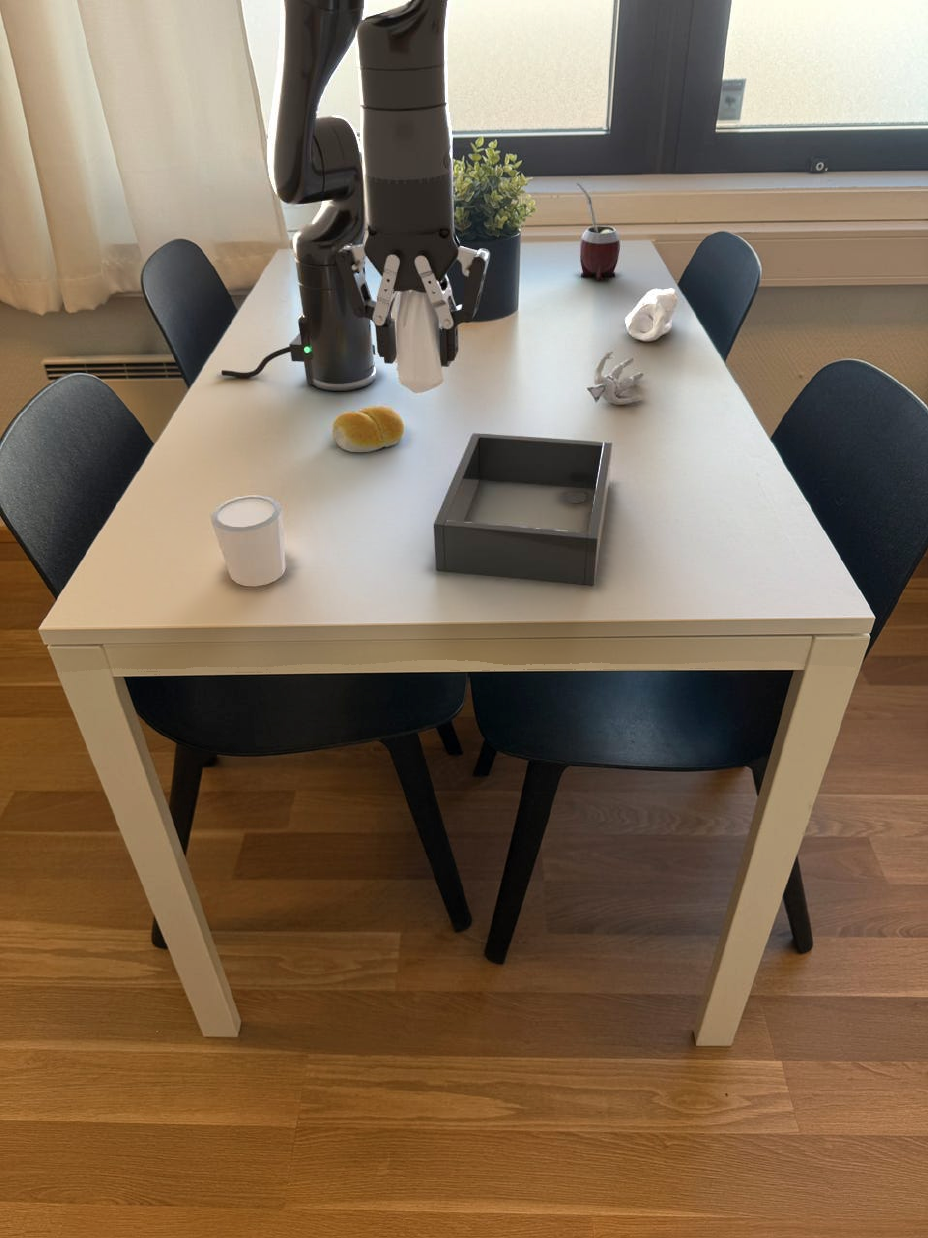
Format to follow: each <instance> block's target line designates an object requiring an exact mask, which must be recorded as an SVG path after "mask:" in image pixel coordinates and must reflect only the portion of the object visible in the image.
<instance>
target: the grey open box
mask: <svg viewBox="0 0 928 1238" xmlns="http://www.w3.org/2000/svg"><path fill="white" fill-rule="evenodd" d="M612 451H613V442H607V441H596V440H595V441H594V440H582V439H568V438H567V439H565V438H552V437H551V438H550V437H537V436H524V435H507V434H495V433H494V434H493V433H478V432H472V433H471V436H470V438H469V440H468V443H467V445H466V447H465V449H464V452H463V454H462V457H461V459H460V462H459V464H458V466H457V468H456V470H455V473H454V475H453V478H452V479H451V483H450V485H449V487H448V489H447V492H446V494H445V496H444V499H443V501H442V503H441V506H440V507H439V511H438V513H437V515H436V518H435V520H434V522H433V540H434V541H433V542H434V558H435V570H436V571H442V572H452V573H463V574H471V575H472V574H473V575H480V576H481V575H482V576H483V575H484V576H492V577H502V578H513V579H522V580H523V579H524V580H534V581H544V582H554V583H555V582H556V583H563V584H564V583H566V584H576V585H584V586H585V585H586V586H594V585H595V580H596V575H597V567H598V561H599V554H600V547H601V542H602V541H601V540H602V534H603V528H604V527H603V526H604V522H605V521H604V520H605V513H606V507H607V500H608V499H607V498H608V493H609V486H610V475H611V465H612V463H611V462H612V453H613V452H612ZM480 480H482V481H494V482H507V483H520V484H533V485H546V486H557V487H569V488H583V489H595V491H594V494H593V495H594V496H593V501H592V507H591V514H590V519H589V526H588V532H586V531H576V530H575V531H574V530H563V529H553V528H551V529H550V528H542V527H541V528H540V527H528V526H517V525H507V524H506V525H505V524H495V523H494V524H493V523H482V522H472V521H471V522H470V521H465V520H466V517H467V514H468V511H469V509H470V507H471V504H472V501H473V498H474V496H475V493H476V491H477V488H478V485H479V482H480ZM564 500H565V501H566V502H567V503H568V504H569V503H570V504H573V505H578V504H582V503H584V502H586V500H587V497H586V495H585V494H584V493H582V492H577V491H572V492H569V493H567V494H565V495H564Z"/></svg>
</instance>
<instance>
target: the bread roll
mask: <svg viewBox="0 0 928 1238" xmlns="http://www.w3.org/2000/svg"><path fill="white" fill-rule="evenodd" d="M404 433H405V425H404V421H403V419H402V417H401V415H400V414H399V413H398V412H397V411H396V410H394V409H392V408H391V407H389V406H385V405H375V406H367V407H363V408H360V409H358V411H345V412H342V413H341V414H339V415H338V416H337V417H336V418H335V420H333V424H332V436H331V438H332V440H333V441H334V442H335V443H336V444H337V446H338V447H339V448H341V449H342V450H345V451H346V452H350V453H369V452H374V451H377V450H379V449H382V448H383V447H386V448H388V447H391V446H394V445H396V444H398V443H399V442H400V441H401V440H402V438H403V436H404Z"/></svg>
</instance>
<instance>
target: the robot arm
mask: <svg viewBox="0 0 928 1238" xmlns="http://www.w3.org/2000/svg"><path fill="white" fill-rule="evenodd" d="M451 2H452V0H408V1H407V2H406V3H404V4H402V5H400V6H397V7H395V8H392V9H388V10H384V11H381V12H376V13H372V14H371V15H369V16H366V15H367V11H368V5H369V0H280V20H279V21H280V22H279V23H280V25H279V26H280V27H279V42H278V55H277V56H278V57H277V68H276V69H277V70H276V76H275V85H274V92H273V98H272V106H271V113H270V119H269V127H268V134H267V135H268V137H267V150H266V155H267V168H268V175H269V179H270V182H271V186H272V188H273V191H274V192H275V194H276V196H277V197H278V198H279V200H281V201H282V203H285V204H286V205H289V206H297V207H299V206H307V205H312V204H317V203H321V205H320V206H321V207H320V208H319V210H318V211H317V213H316V215H314V216H313V218H312V219H311V220H310V221H309V222H308V223H307V224H305V225H303V226H302V227H301V228H300V229H299V230H298V231H296V232H295V234H294V236H293V237H292V247H293V254H294V255H293V256H294V261H295V268H296V276H297V283H298V290H299V297H300V304H301V312H302V314H301V315H300V316H299V317H298V319H297V323H298V330H299V333H298V334H297V335H296V337H295V338H294V339H292V341H291V342H290V343H289V344H288V345H289V346H286V347H284V348H280V349H278V350H276V351H273V352H271V353H270V354H267V355H266V356H265V357H264V358H263V359H262V360H261V361H260V363H259V365H258V366H256V369H254V370H251V371H247V372H240V371H233V370H227V369H222V370H221V376H225V377H234V378H239V379H249V378H253V377H255V376H258V375H259V374H260V373H261V372H263V370H264V369H265V368H266V366H267V364H268V363H269V362H271V361H272V360H274V359H275V358H277V357H279V356H282V355H285V354H288V353H290V359H291V362H300V363H303V366H304V373H305V374H304V375H305V379H306V380H305V381H306V385H309V386H314V387H317V388H318V389H321V390H324V391H334V392H344V391H353V390H356V389H357V390H358V389H360V388H361V389H362V388H364V387H366V386H368V385H370V384H372V383H373V382H374V381H375V380H376V378H377V373H376V372H377V370H376V365H375V363H376V362H375V356H376V351H377V354H378V356H379V358H383V363H384V364H386V365H387V364H388V365H393V364H394V363H395V362H394V361H395V359H396V357H397V347H396V333H395V318H392V309H393V306H394V302H395V299H396V295H397V293H398V291H400V292H404V291H408V290H414V291H417V292H422V293H427V294H428V297H429V300H430V302H431V304H432V306H434V308H435V310H436V313H437V315H438V318H439V324H440V329H439V340H440V361H441V367H444V368H450V365H451V363H452V362H454V361H455V359H456V358H457V356H458V353H459V325H461V324H468V323H471V322H472V321H473V319H474V317H475V315H476V313H477V311H478V309H479V308H478V307H479V306H480V305H479V304H480V300H481V297H482V292H483V287H484V283H485V280H486V276H487V271H488V267H489V263H490V259H491V253H490V251H489V250H488V249H486V248H483V247H482V248H479V249H478V250H475V249H472V248H469V247H464V246H462V245H461V242H460V240H459V239H458V237H457V234H456V231H455V209H454V208H455V207H454V206H455V205H454V202H455V201H454V166H453V164H454V163H453V162H454V161H453V134H452V125H451V119H450V112H449V102H448V99H449V98H448V97H449V96H448V67H447V66H448V65H447V62H448V61H447V60H448V57H447V55H448V54H447V53H448V51H447V49H448V48H447V47H448V46H447V45H448V40H447V39H448V27H449V26H448V25H449V16H450V15H449V14H450V9H451ZM353 44H355V53H356V54H355V56H356V66H357V67H356V68H357V81H358V94H359V95H358V96H359V103H360V121H359V122H360V123H359V137H358V136H357V133H356V131H355V128H354V127H353V126H352V124H351V123H350V122H349V121H348V120H347V119H346V118H344V117H342V116H339V115H331V116H330V115H329V116H322V117H321V116H320V117H317V115H318V110H319V107H320V103H321V100H322V98H323V95H324V93H325V91H326V88H327V86H328V85H329V83H330V81H331V79H332V78H333V76H334V74H335V73H336V71H337V69H338V68H339V66H341V63H342V62H343V61H344V59H345V57H346V56H347V55H348V52H349V51H350V50H351V47H352V46H353ZM366 228H367V230H366ZM366 231H367V235H366ZM365 236H366V238H365ZM366 257H367V259H368V261H369V262H370V263H371V264H372V266H373V268H375V270H376V271H377V273H378V274H379V275H380V277H381V280H380V283H379V287H378V291H377V294H376V300H373V297H372V295H371V291H370V288H369V286H368V279H367V267H366ZM456 261H458V262H459V263H460V264H461V272H462V274H463V275H464V277H466V278H467V281H466V285H465V290H464V294H463V298H462V303H461V304H459V305H457V304H456V301H455V298H454V296H453V289H452V285H451V283H450V280H449V277H448V275H447V274H448V272H449V271H450V269H451V268H452V266H453V265H454V263H455V262H456ZM371 322H373V325H374V328H375V339H376V346H375V344H373V343H374V342H373V334H372V323H371Z"/></svg>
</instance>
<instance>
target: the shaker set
mask: <svg viewBox="0 0 928 1238" xmlns="http://www.w3.org/2000/svg"><path fill="white" fill-rule="evenodd" d="M391 318H395V333H396V347H397V357H396V359H395V361H394V362H393V363H395V364H397V365H396V372H397V379H398V382H399V383H400V385H402V386H403V387H405V388H407V389H408V390H410V391H411V392H412V393H414V394H421V393H424V392H428V391H431V390H433V389H435V388H437V387H438V386H440V385H442V384H443V383H444V381H445V379H444V374H443V369H442V367H441V361H440V340H439V329H440V327H441V324H440V321H439V318H438V315H437V313H436V310H435V308H434V306H432V304H431V302H430V300H429V297H428V294H427V293H422V292H417V291H414V290H408V291H404V292H400V291H398V293H397V295H396V299H395V302H394V306H393V309H392V313H391Z"/></svg>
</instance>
